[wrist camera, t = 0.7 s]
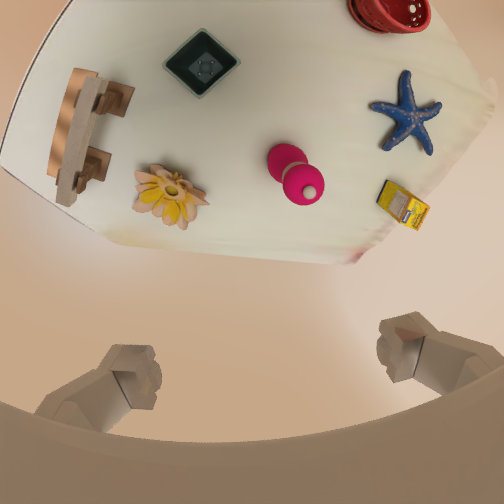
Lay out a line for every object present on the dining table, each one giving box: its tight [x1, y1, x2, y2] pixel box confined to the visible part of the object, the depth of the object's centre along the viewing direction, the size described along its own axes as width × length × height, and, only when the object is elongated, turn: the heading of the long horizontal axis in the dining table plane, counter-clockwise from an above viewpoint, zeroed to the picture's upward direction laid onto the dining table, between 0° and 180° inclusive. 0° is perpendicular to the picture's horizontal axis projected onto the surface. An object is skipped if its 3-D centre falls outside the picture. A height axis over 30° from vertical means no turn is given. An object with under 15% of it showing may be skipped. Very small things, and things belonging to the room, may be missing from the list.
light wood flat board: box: [47, 68, 98, 178], centre depth 43 cm, size 24×6×1 cm, turn 154°
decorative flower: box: [132, 164, 210, 230], centre depth 49 cm, size 15×11×10 cm
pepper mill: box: [268, 144, 324, 205], centre depth 43 cm, size 7×7×20 cm
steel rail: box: [56, 76, 110, 207], centre depth 35 cm, size 22×3×3 cm, turn 154°
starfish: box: [371, 71, 442, 156], centre depth 45 cm, size 19×19×5 cm
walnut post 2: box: [56, 146, 112, 194], centre depth 43 cm, size 6×6×12 cm
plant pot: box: [349, 0, 431, 34], centre depth 30 cm, size 13×13×12 cm
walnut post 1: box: [73, 81, 135, 117], centre depth 37 cm, size 6×6×12 cm
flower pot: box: [162, 28, 241, 99], centre depth 37 cm, size 9×9×9 cm
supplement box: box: [377, 180, 430, 231], centre depth 53 cm, size 6×6×11 cm
